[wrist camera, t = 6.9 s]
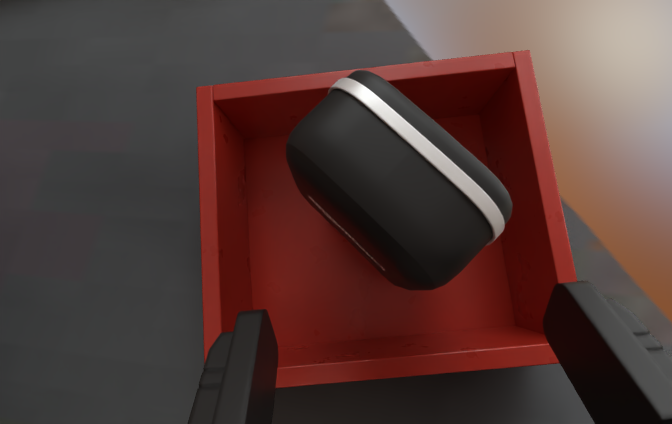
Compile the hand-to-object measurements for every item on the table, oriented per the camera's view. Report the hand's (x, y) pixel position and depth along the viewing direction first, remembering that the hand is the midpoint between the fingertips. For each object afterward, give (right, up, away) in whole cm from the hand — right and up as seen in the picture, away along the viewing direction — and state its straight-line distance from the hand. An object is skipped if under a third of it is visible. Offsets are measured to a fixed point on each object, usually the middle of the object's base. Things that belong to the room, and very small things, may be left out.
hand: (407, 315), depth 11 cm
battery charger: (0, +2, +11) cm, 11 cm away
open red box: (0, +2, +11) cm, 11 cm away
